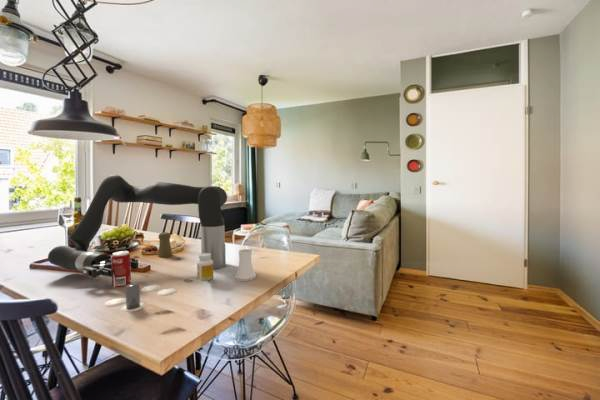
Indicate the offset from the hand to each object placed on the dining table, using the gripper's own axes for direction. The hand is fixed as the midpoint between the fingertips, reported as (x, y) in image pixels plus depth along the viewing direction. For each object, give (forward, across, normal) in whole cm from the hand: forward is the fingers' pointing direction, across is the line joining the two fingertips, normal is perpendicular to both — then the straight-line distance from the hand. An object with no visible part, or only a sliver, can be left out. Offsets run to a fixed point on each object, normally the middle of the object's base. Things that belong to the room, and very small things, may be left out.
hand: (125, 269), depth 91 cm
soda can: (-2, 0, +7) cm, 7 cm away
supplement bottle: (+19, +16, +7) cm, 26 cm away
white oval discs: (+14, -4, +7) cm, 16 cm away
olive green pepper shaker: (-22, +35, +7) cm, 42 cm away
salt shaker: (+29, +26, +7) cm, 39 cm away
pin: (+17, -10, +5) cm, 20 cm away
